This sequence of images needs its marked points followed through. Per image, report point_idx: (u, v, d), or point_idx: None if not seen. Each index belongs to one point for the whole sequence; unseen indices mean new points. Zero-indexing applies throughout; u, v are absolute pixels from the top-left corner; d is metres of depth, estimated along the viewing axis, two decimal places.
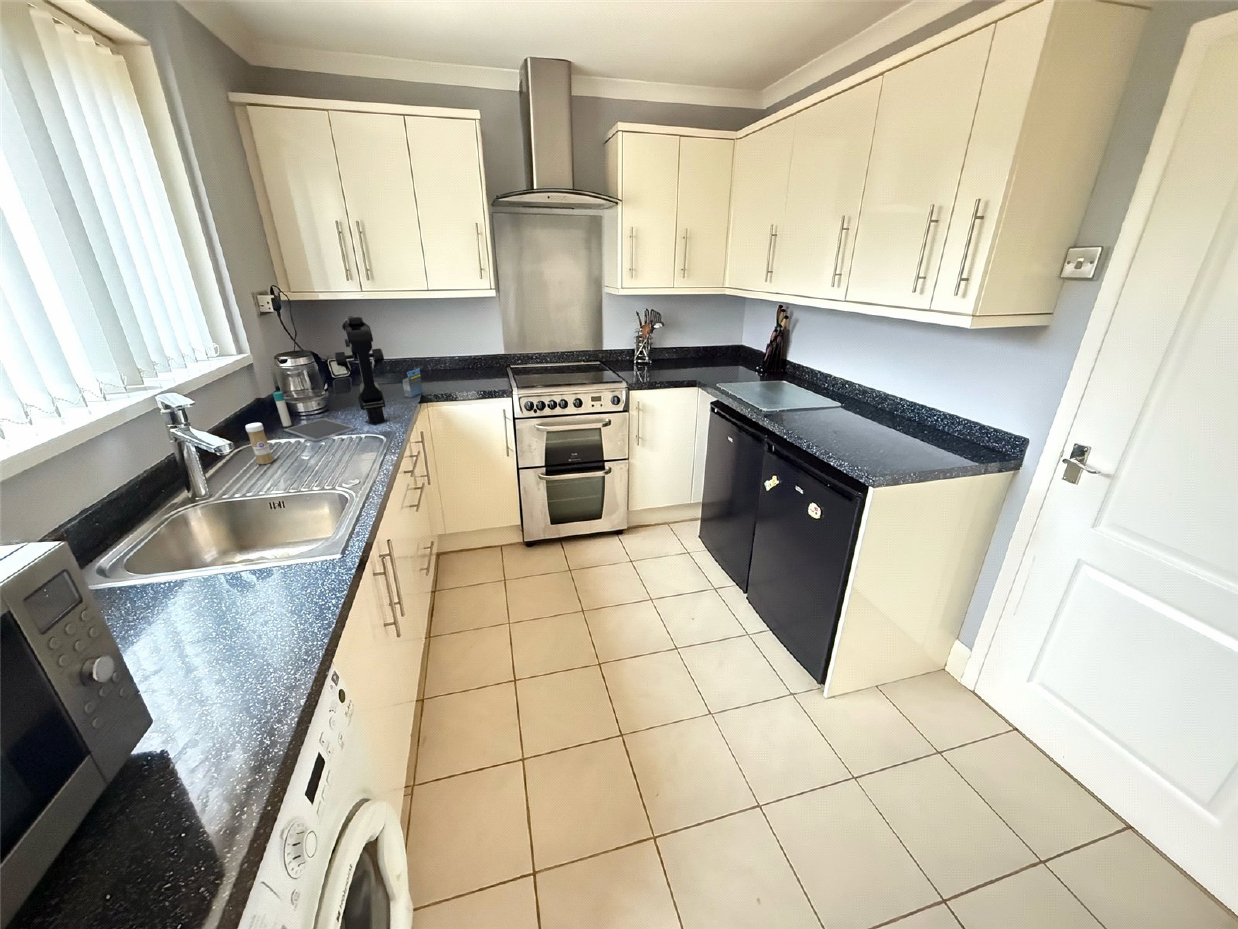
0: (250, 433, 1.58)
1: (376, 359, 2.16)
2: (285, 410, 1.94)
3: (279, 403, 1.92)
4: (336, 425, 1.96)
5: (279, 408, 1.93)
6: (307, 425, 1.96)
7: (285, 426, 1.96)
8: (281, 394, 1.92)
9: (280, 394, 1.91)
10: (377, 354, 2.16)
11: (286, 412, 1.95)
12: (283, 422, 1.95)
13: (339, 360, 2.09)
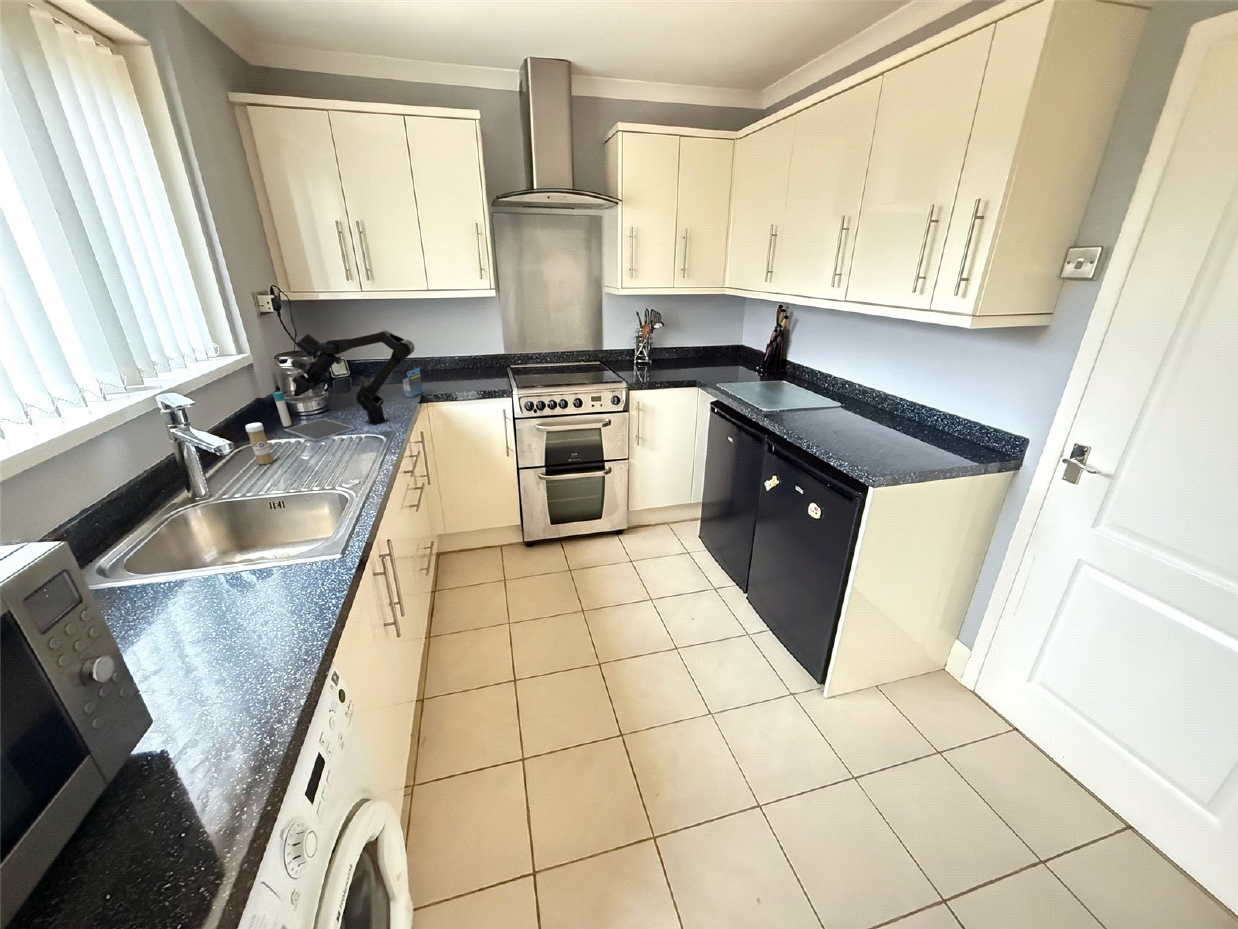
0: (250, 433, 1.58)
1: (326, 378, 1.99)
2: (285, 410, 1.94)
3: (279, 403, 1.92)
4: (336, 425, 1.96)
5: (279, 408, 1.93)
6: (307, 425, 1.96)
7: (285, 426, 1.96)
8: (281, 394, 1.92)
9: (280, 394, 1.91)
10: (325, 372, 1.99)
11: (286, 412, 1.95)
12: (283, 422, 1.95)
13: (310, 384, 1.86)
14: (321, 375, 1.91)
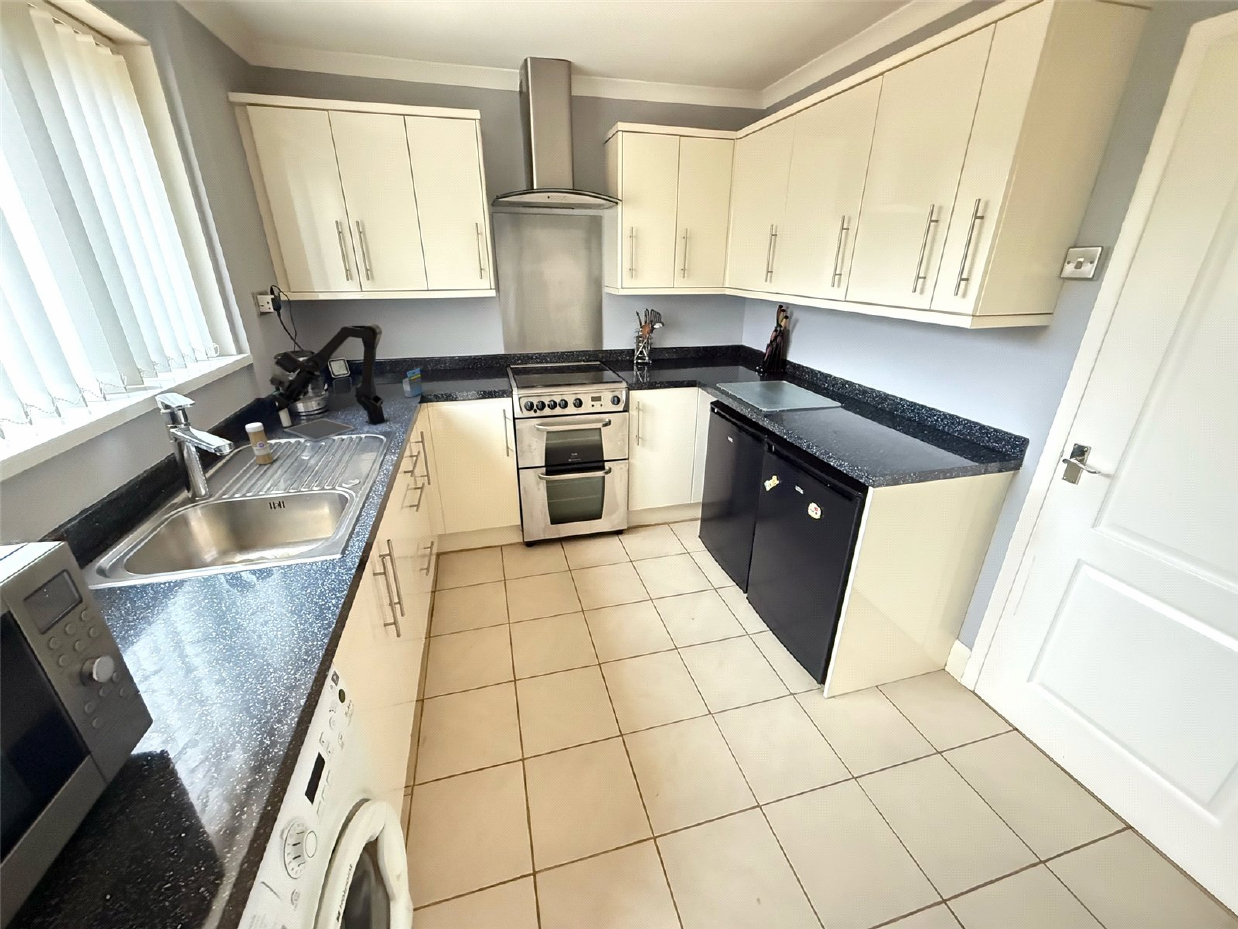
0: (250, 433, 1.58)
1: (305, 394, 1.99)
2: (285, 410, 1.94)
3: None
4: (336, 425, 1.96)
5: None
6: (307, 425, 1.96)
7: (285, 426, 1.96)
8: None
9: None
10: None
11: (286, 412, 1.95)
12: (283, 422, 1.95)
13: (289, 402, 1.86)
14: (300, 392, 1.92)
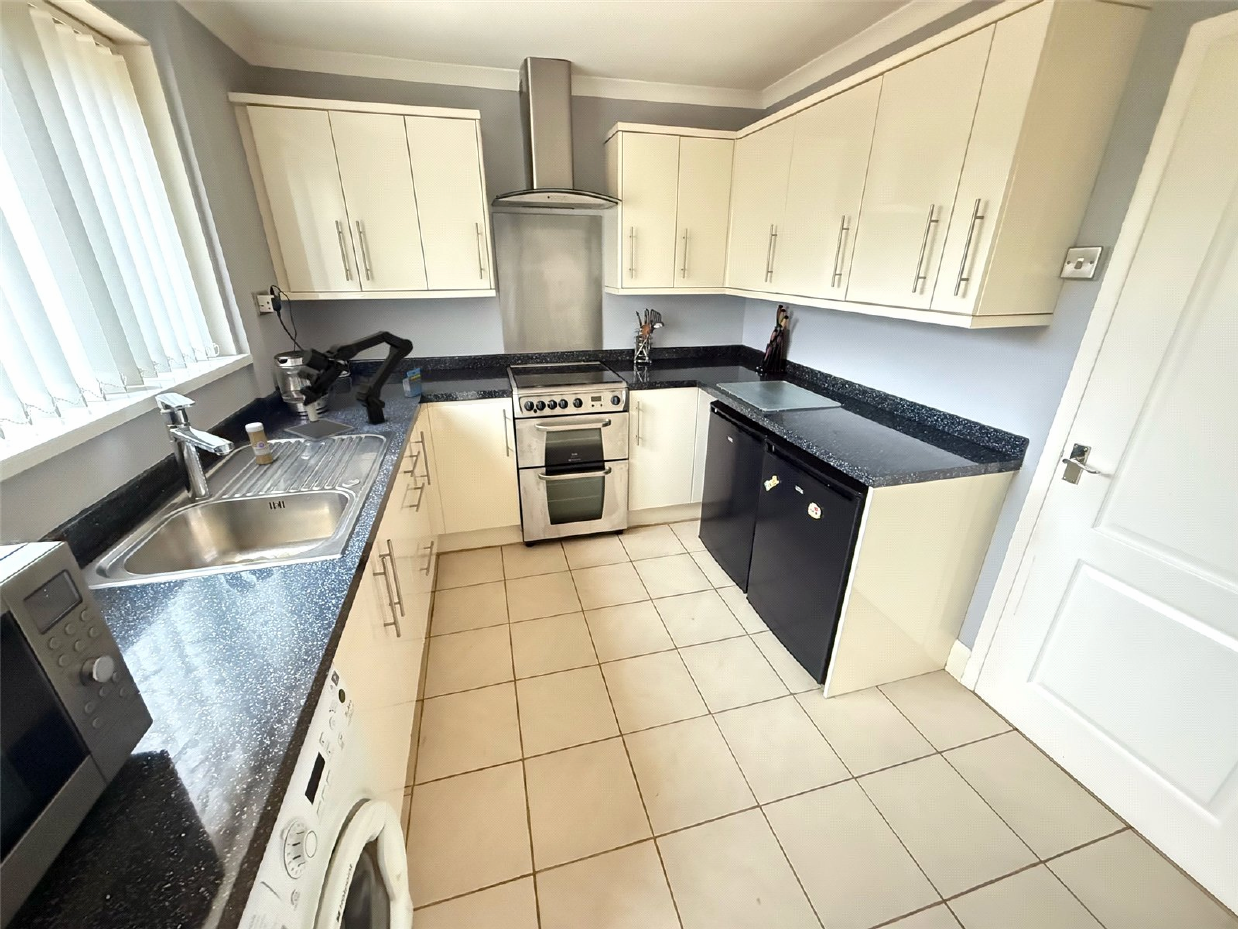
0: (250, 433, 1.58)
1: (333, 388, 1.93)
2: (312, 404, 1.87)
3: None
4: (336, 425, 1.96)
5: None
6: (307, 425, 1.96)
7: (312, 421, 1.89)
8: None
9: None
10: None
11: (313, 406, 1.88)
12: (310, 417, 1.88)
13: (317, 396, 1.79)
14: (328, 386, 1.85)
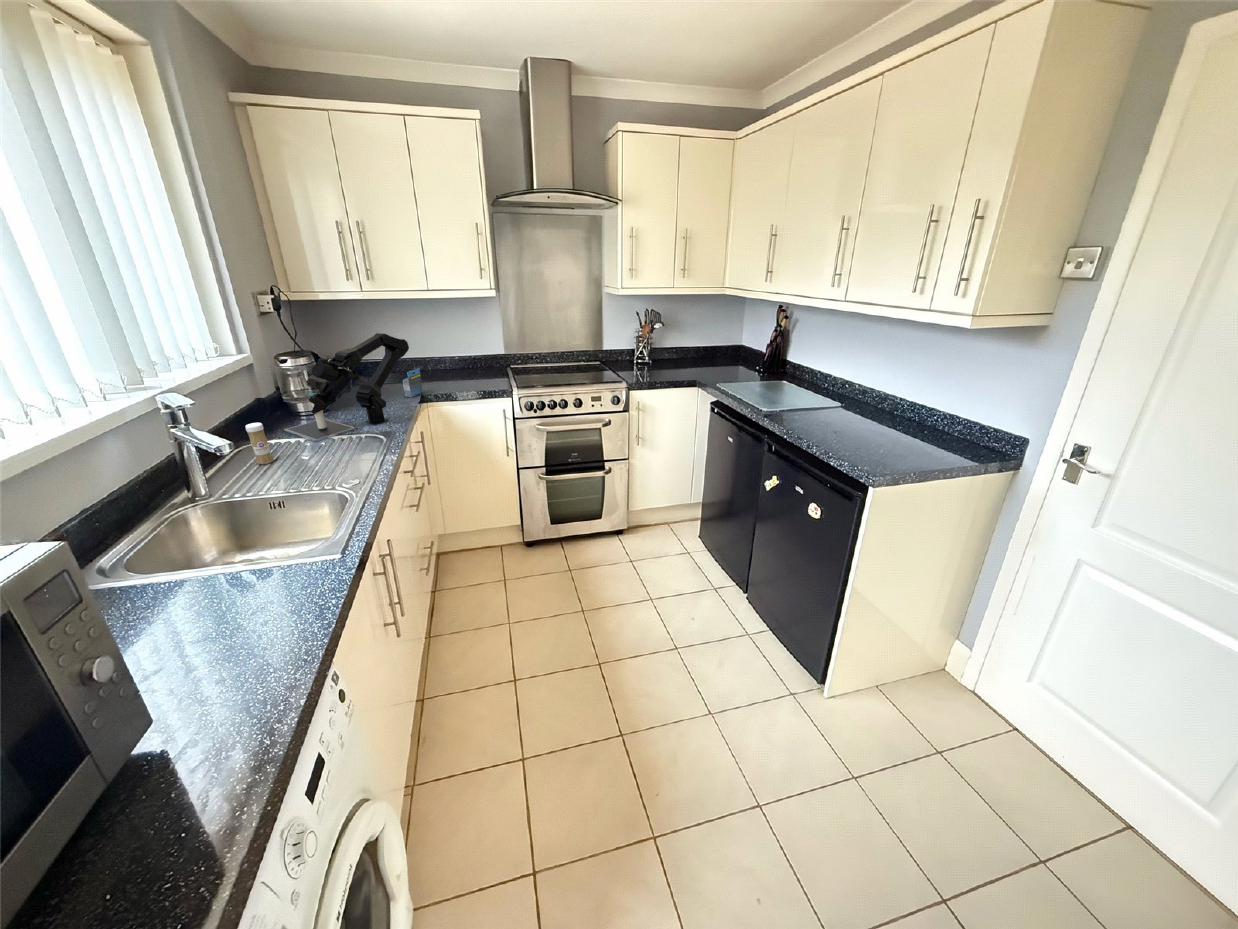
0: (250, 433, 1.58)
1: (340, 396, 1.93)
2: (321, 412, 1.88)
3: None
4: (336, 425, 1.96)
5: None
6: (307, 425, 1.96)
7: (321, 428, 1.90)
8: None
9: None
10: None
11: (322, 414, 1.89)
12: (319, 424, 1.89)
13: (327, 404, 1.80)
14: (337, 393, 1.85)
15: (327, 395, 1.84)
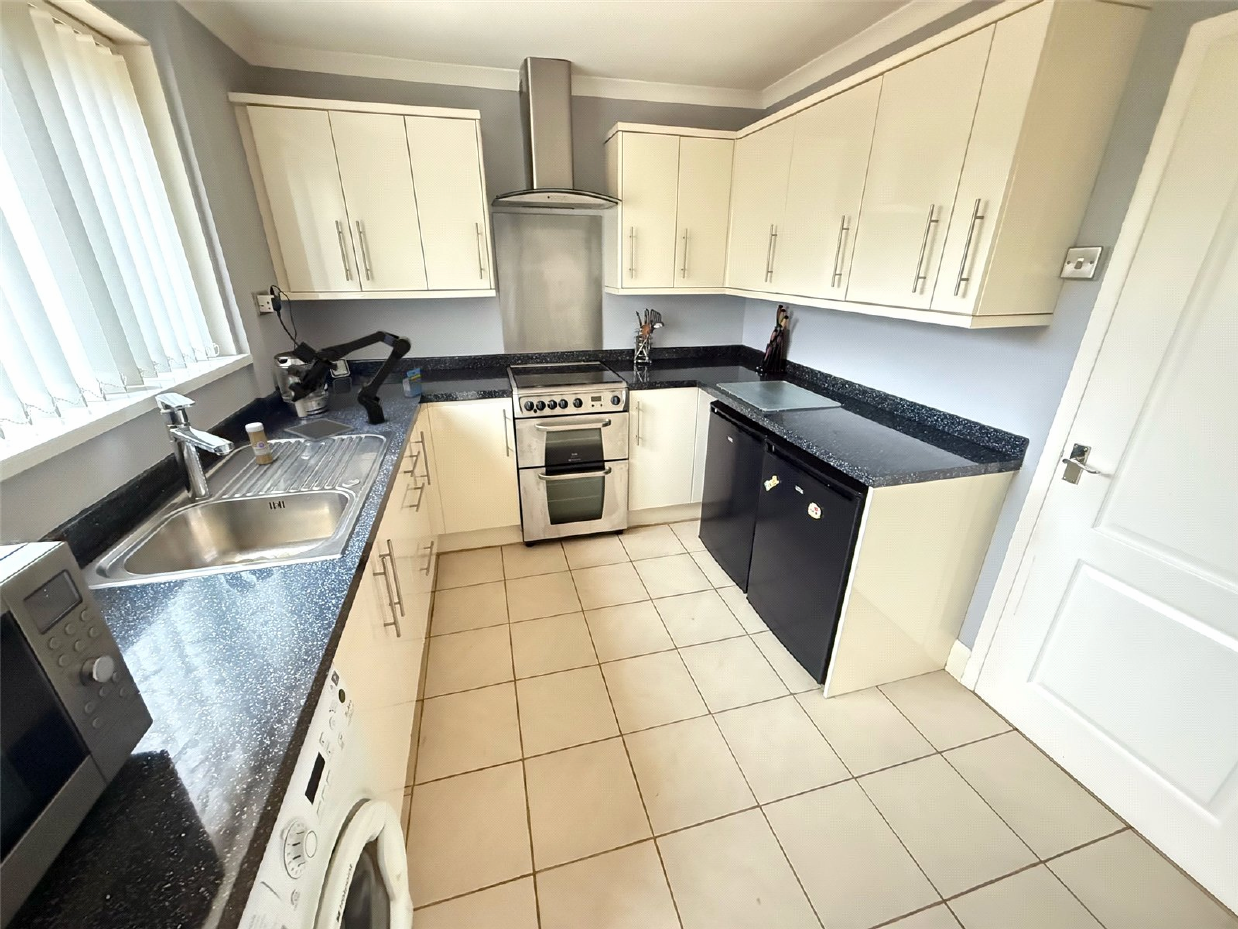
0: (250, 433, 1.58)
1: (321, 385, 1.97)
2: (301, 400, 1.91)
3: None
4: (336, 425, 1.96)
5: None
6: (307, 425, 1.96)
7: (301, 417, 1.93)
8: None
9: None
10: None
11: (302, 403, 1.92)
12: (299, 413, 1.92)
13: (306, 392, 1.83)
14: (317, 382, 1.89)
15: (307, 384, 1.87)
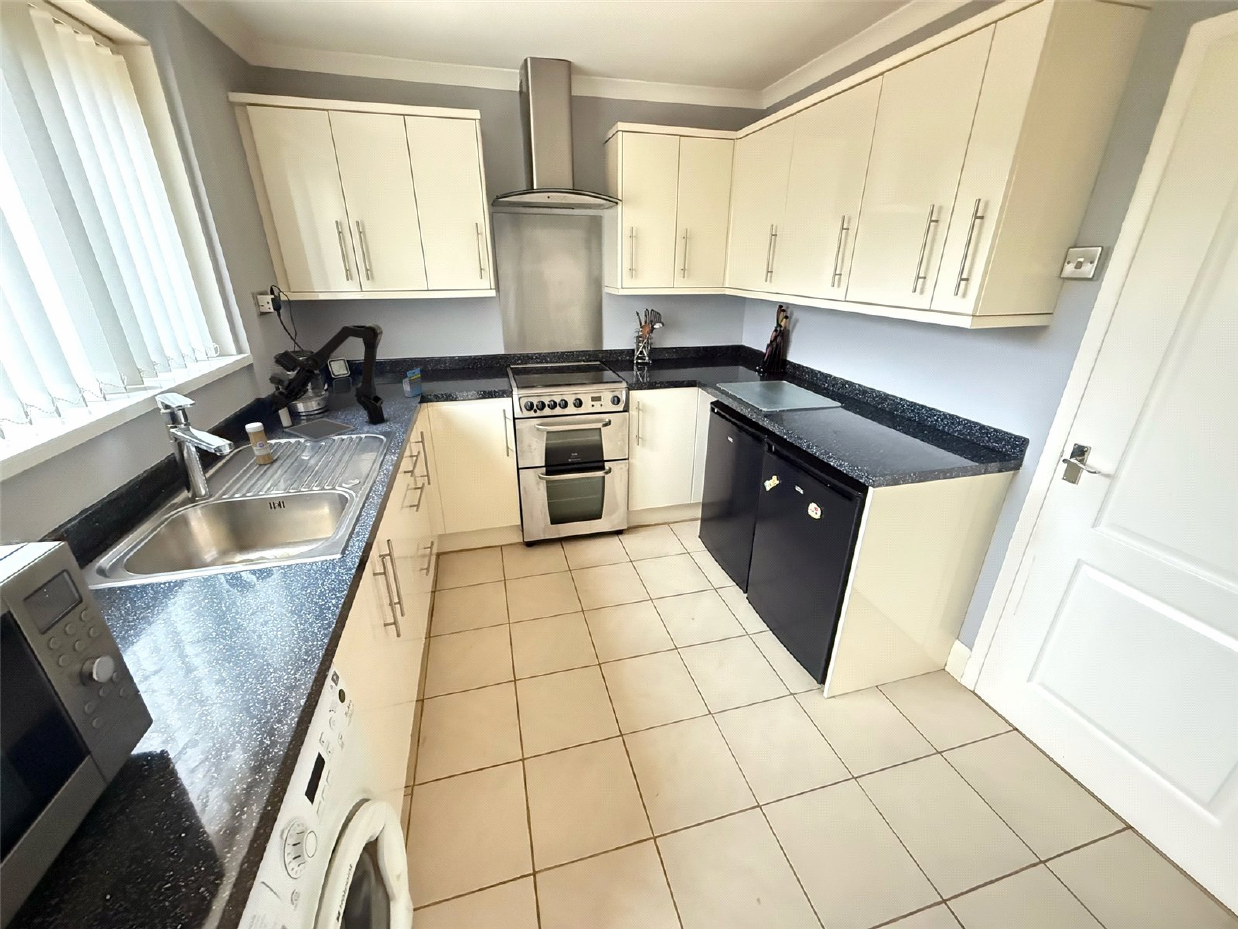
0: (250, 433, 1.58)
1: (305, 393, 1.99)
2: (285, 410, 1.94)
3: None
4: (336, 425, 1.96)
5: None
6: (307, 425, 1.96)
7: (285, 426, 1.96)
8: None
9: None
10: None
11: (286, 412, 1.95)
12: (283, 422, 1.95)
13: (289, 400, 1.86)
14: (300, 391, 1.91)
15: (290, 392, 1.90)
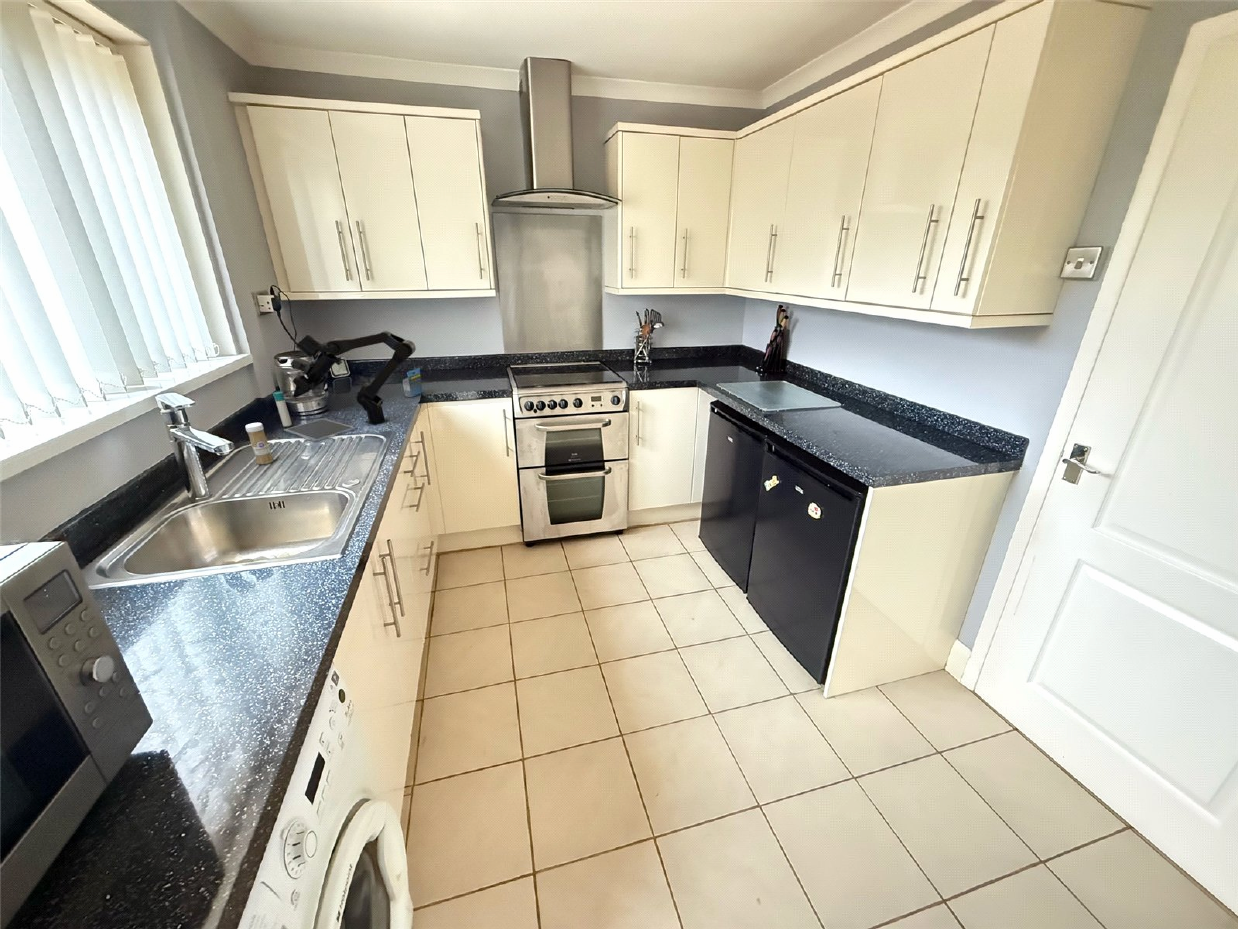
0: (250, 433, 1.58)
1: (325, 379, 1.98)
2: (285, 410, 1.94)
3: (280, 403, 1.92)
4: (336, 425, 1.96)
5: (279, 408, 1.93)
6: (307, 425, 1.96)
7: (285, 426, 1.96)
8: (281, 394, 1.92)
9: (280, 394, 1.91)
10: None
11: (286, 412, 1.95)
12: (283, 422, 1.95)
13: (311, 385, 1.85)
14: (321, 376, 1.90)
15: (311, 377, 1.89)
